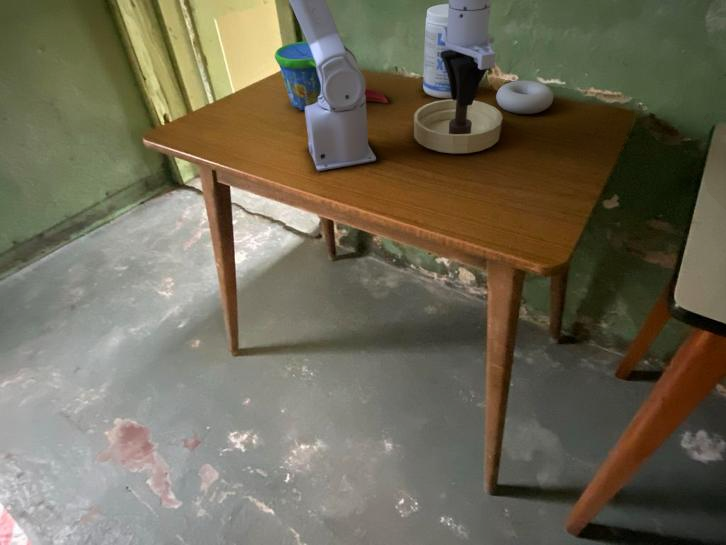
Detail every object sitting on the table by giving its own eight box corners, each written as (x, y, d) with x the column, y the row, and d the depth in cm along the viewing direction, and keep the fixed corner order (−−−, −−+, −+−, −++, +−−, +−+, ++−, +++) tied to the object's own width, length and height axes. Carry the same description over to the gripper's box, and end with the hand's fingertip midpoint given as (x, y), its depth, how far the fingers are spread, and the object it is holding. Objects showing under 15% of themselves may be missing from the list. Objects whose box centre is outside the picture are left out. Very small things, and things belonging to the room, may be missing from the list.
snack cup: (352, 111, 92) (347, 55, 86) (300, 124, 89) (291, 67, 83) (319, 86, 103) (314, 34, 97) (272, 97, 100) (263, 44, 93)
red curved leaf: (331, 95, 99) (330, 86, 98) (346, 88, 101) (345, 79, 100) (377, 108, 93) (376, 98, 91) (392, 100, 95) (392, 90, 94)
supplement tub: (437, 104, 93) (441, 19, 83) (414, 87, 100) (415, 7, 90) (481, 94, 95) (490, 10, 86) (456, 78, 102) (461, 0, 92)
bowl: (431, 162, 76) (431, 141, 74) (402, 125, 87) (402, 106, 84) (515, 147, 78) (518, 126, 76) (477, 113, 89) (479, 94, 86)
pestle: (453, 143, 79) (457, 78, 72) (445, 134, 82) (448, 70, 75) (474, 139, 79) (480, 74, 73) (465, 130, 82) (470, 67, 75)
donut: (495, 117, 87) (554, 118, 85) (497, 98, 85) (557, 98, 83) (495, 95, 95) (549, 95, 93) (496, 77, 92) (552, 77, 90)
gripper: (521, 14, 63) (507, 115, 72) (474, -9, 74) (467, 82, 83) (470, 21, 62) (462, 123, 71) (430, -3, 73) (427, 88, 82)
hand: (462, 101), depth 77 cm, fingers closed on pestle, 2 cm apart
